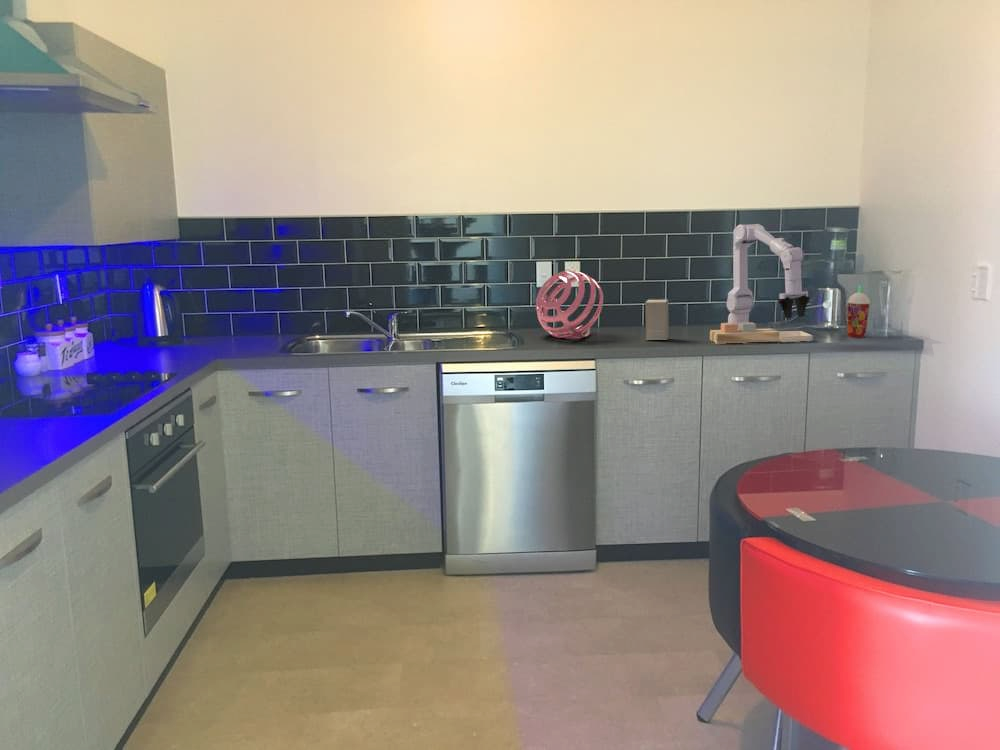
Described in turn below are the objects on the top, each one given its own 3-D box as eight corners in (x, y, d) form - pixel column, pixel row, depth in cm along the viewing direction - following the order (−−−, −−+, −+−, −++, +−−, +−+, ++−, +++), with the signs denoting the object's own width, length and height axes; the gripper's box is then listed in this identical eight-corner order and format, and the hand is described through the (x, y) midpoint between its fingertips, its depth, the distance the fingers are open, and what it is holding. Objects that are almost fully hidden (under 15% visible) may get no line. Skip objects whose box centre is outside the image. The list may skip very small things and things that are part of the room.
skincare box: (668, 339, 332) (669, 299, 329) (666, 342, 325) (667, 301, 322) (647, 338, 335) (648, 298, 331) (644, 341, 328) (645, 300, 325)
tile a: (720, 330, 325) (720, 323, 324) (733, 330, 325) (733, 322, 324) (724, 332, 320) (725, 324, 319) (737, 332, 320) (738, 324, 319)
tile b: (738, 330, 325) (738, 322, 324) (751, 329, 325) (751, 322, 325) (742, 332, 320) (743, 324, 319) (755, 331, 320) (756, 324, 320)
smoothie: (868, 335, 331) (871, 284, 327) (867, 338, 324) (871, 287, 320) (845, 334, 335) (848, 284, 331) (844, 337, 327) (847, 286, 323)
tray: (769, 338, 329) (770, 331, 329) (800, 337, 330) (801, 330, 330) (780, 342, 319) (781, 336, 318) (812, 342, 319) (813, 335, 319)
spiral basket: (585, 283, 358) (550, 250, 339) (630, 304, 338) (595, 270, 319) (548, 336, 358) (511, 307, 339) (590, 361, 338) (553, 331, 319)
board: (709, 340, 327) (710, 330, 326) (770, 338, 328) (770, 328, 328) (717, 344, 318) (717, 333, 318) (778, 342, 320) (779, 332, 319)
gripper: (790, 280, 303) (791, 318, 304) (814, 278, 311) (816, 315, 313) (773, 281, 309) (775, 318, 310) (798, 280, 317) (799, 316, 318)
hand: (794, 317), depth 312 cm, fingers open, 7 cm apart
